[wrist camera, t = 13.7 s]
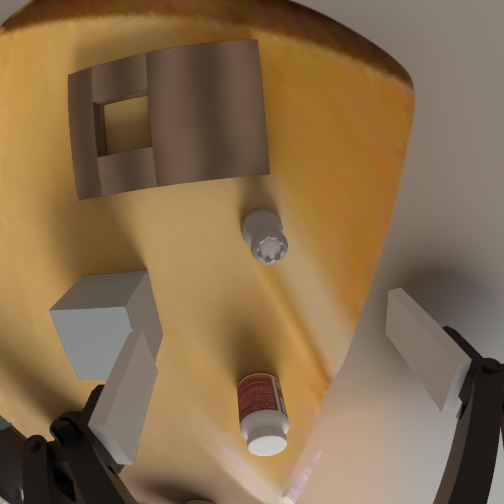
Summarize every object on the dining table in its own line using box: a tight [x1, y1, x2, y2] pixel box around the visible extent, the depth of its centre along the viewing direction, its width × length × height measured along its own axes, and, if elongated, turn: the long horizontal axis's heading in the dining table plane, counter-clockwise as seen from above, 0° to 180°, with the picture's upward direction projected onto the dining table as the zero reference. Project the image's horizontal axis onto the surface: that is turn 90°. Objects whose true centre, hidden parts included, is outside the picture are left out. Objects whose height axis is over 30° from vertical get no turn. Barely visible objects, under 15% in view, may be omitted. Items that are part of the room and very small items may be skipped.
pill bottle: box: [237, 373, 289, 456], centre depth 36 cm, size 6×6×11 cm
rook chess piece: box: [241, 208, 288, 264], centre depth 30 cm, size 4×4×8 cm
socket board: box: [68, 39, 270, 201], centre depth 28 cm, size 20×14×3 cm
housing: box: [49, 270, 163, 381], centre depth 31 cm, size 9×9×9 cm
